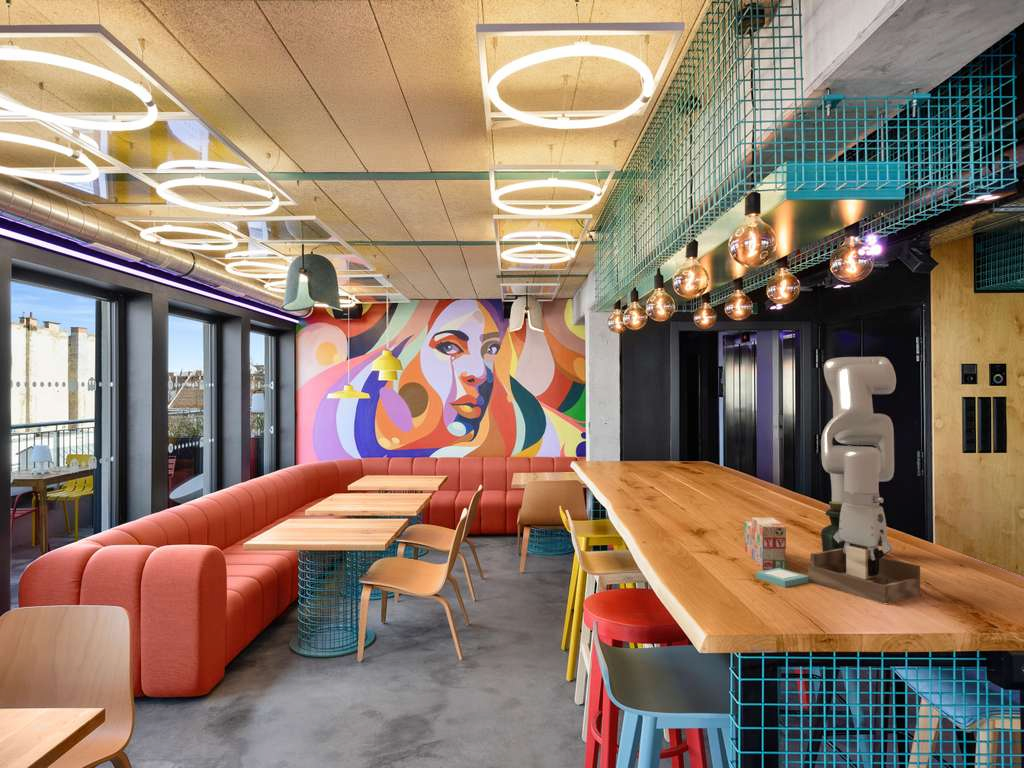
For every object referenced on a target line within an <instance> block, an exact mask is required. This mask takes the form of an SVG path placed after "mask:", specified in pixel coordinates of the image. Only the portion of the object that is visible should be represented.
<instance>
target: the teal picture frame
mask: <svg viewBox="0 0 1024 768" xmlns="http://www.w3.org/2000/svg"><path fill="white" fill-rule="evenodd" d="M755 579H758V580H761V581H763V582H767V583H770V584H774V585H777V586H780V587H783V588H788V587H792V586H797V585H801V584H806V583H810V582H809V576H808V575H806V574H805V575H804V574H801V573H798V572H794V571H791V570H788V569H786V570H785V569H781V568H775V569H770V570H759V571H756V572H755Z"/></svg>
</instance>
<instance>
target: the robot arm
mask: <svg viewBox="0 0 1024 768" xmlns="http://www.w3.org/2000/svg"><path fill="white" fill-rule="evenodd" d="M823 375H824V379H825V381H826V385H827V387H828V389H829V391H830V395H831V398H832V418H831V419H830V420H829V421H828V423H827V424H826V425H825V426H824V429H823V431H822V434H821V439H820V440H821V441H820V446H821V447H820V448H821V451H820V453H821V455H820V456H821V464H822V467H823V470H824V471H825V472H826V473H828V474H829V476H830V481H831V482H830V484H831V485H830V486H831V487H830V488H831V502H842V507H841V512H840V521H839V530H838V531H837V532H836V534H835V535H834V536H833V538H834V539H835V540H836V541H837V542H838V543H839V545H840V546H841V548H842V549H843V552H844V553H845V554H846V546H850V545H855V544H856V545H860V546H865V547H867V548H868V552H869V556H870V559H868V575H869V576H875V575H878V572H879V559H881V557H884V556H885V555H886V554H888V553H889V552H891V551H893V549H894V548H893V546H892V545H891V543H890V542H889V540H888V531H887V530H888V529H887V522H886V521H887V520H886V515H885V512H884V508H883V506H882V505H880V504H883V503H884V498H883V497H881V496H880V492H879V491H880V490H879V488H880V487H879V483H880V482H889V481H891V480H892V479H893V477H894V473H895V437H894V436H895V433H894V425H893V422H892V419H891V417H890V416H889V415H886V414H884V413H874V408H873V407H874V406H873V397H872V395H890V394H892V393H893V392H894V391H895V389H896V384H897V377H896V372H895V369H894V366H893V364H892V363H891V361H890V360H889V359H888V358H887V357H885V356H842V357H835V358H834V357H833V358H830V359H827V360H826V361H825V363H824V364H823ZM833 439H835V441H836V442H838V443H839V444H845V445H833ZM857 445H858V446H857ZM859 445H862V446H859ZM867 445H868V446H867ZM873 446H874V447H873ZM880 547H882V548H880Z"/></svg>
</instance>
